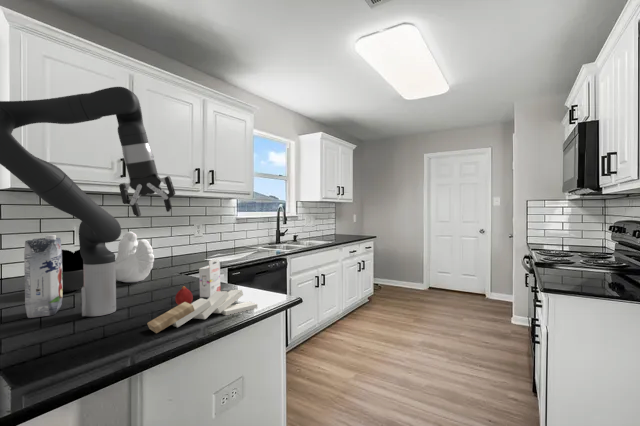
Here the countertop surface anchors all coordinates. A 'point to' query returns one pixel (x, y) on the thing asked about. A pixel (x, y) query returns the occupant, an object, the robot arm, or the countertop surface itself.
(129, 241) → the decorative rooster
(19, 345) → the countertop surface
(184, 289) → the onion
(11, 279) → the countertop surface
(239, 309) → the domino
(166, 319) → the maple tile
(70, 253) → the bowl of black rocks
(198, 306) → the domino
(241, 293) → the domino
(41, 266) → the juice carton
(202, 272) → the ink cartridge box
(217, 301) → the domino
